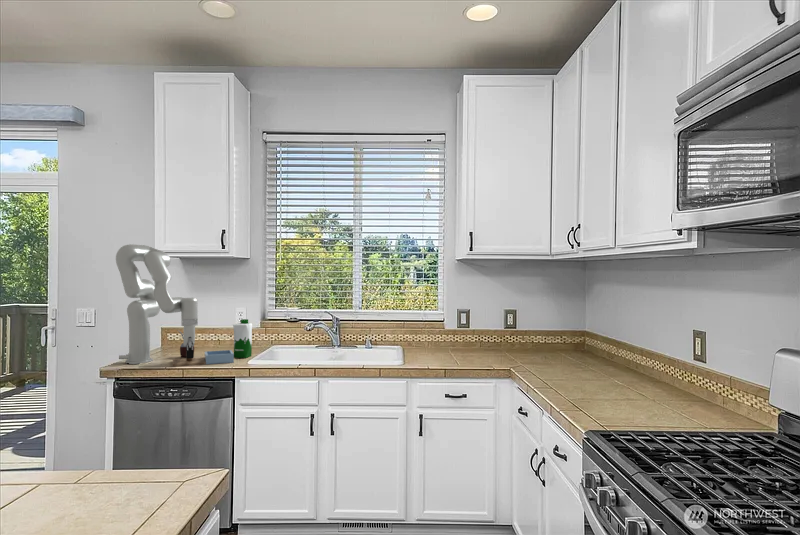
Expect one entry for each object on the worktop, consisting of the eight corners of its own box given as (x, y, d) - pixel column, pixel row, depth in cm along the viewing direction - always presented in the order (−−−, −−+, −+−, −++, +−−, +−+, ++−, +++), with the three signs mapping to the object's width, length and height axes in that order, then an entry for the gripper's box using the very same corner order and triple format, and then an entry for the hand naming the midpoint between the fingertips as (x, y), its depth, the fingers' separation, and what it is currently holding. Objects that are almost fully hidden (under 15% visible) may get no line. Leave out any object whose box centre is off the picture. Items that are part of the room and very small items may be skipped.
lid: (172, 366, 246) (172, 354, 246) (172, 361, 260) (172, 349, 260) (206, 364, 252) (206, 352, 252) (204, 359, 266) (204, 347, 266)
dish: (206, 365, 252) (206, 355, 252) (204, 361, 264) (204, 351, 264) (233, 363, 258) (233, 353, 258) (231, 359, 270) (231, 349, 270)
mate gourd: (195, 358, 271) (195, 330, 271) (179, 360, 267) (179, 331, 267) (192, 356, 278) (192, 329, 278) (177, 358, 273) (177, 329, 273)
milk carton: (253, 355, 281) (253, 319, 281) (246, 358, 272) (246, 321, 272) (238, 355, 282) (238, 319, 282) (231, 358, 273) (231, 320, 273)
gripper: (181, 321, 263) (181, 354, 263) (181, 324, 247) (181, 360, 247) (196, 320, 266) (197, 353, 266) (198, 323, 250) (198, 358, 250)
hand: (189, 356), depth 256 cm, fingers open, 9 cm apart
